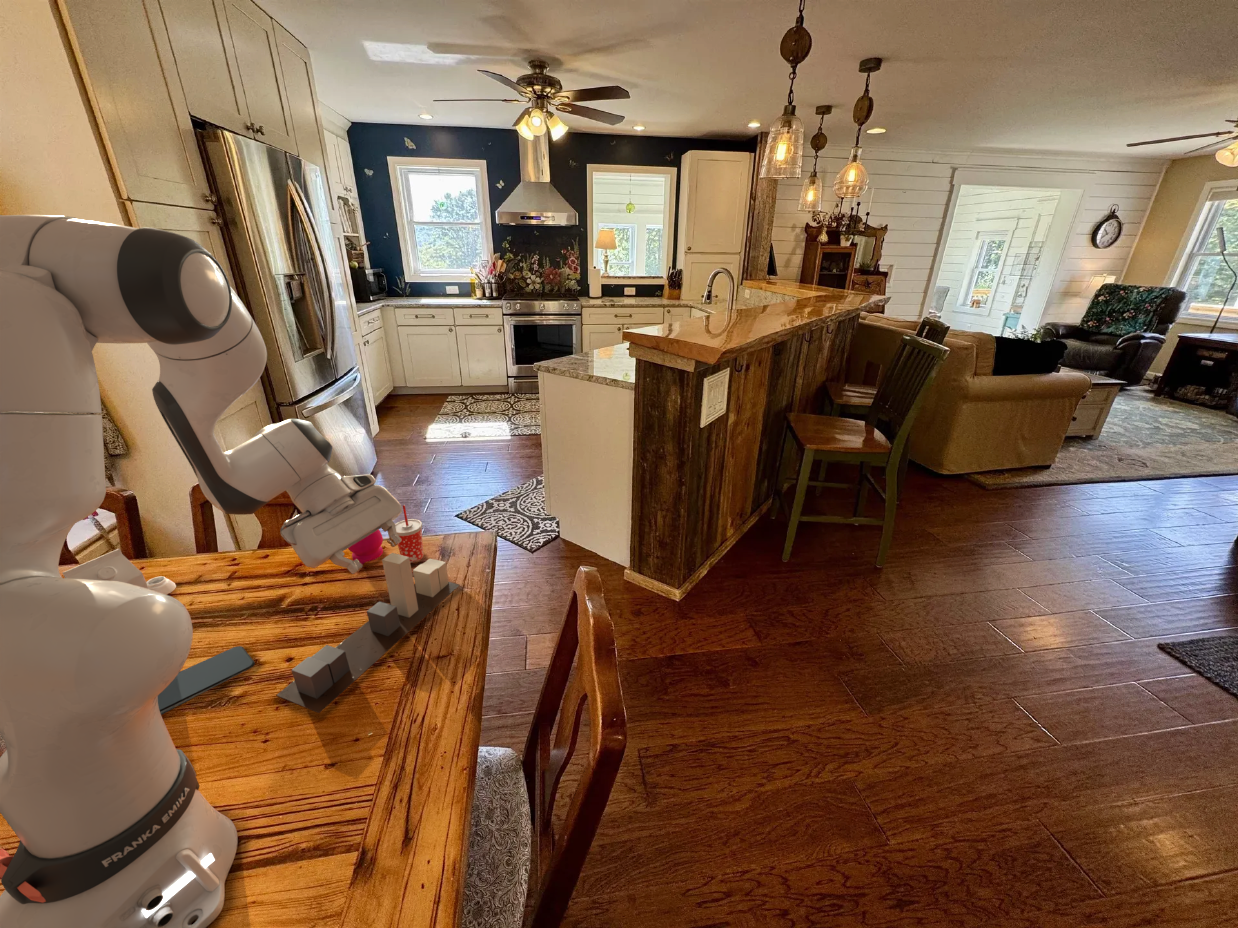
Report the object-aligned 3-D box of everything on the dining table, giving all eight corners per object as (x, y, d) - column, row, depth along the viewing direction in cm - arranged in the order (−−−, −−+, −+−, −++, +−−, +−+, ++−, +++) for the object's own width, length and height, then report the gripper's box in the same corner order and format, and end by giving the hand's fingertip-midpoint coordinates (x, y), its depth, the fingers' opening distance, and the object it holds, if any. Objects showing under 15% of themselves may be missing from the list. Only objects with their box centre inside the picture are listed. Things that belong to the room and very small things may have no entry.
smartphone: (256, 663, 81) (134, 722, 70) (259, 671, 82) (138, 731, 71) (240, 642, 86) (122, 695, 74) (242, 650, 86) (126, 703, 75)
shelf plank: (320, 717, 73) (319, 712, 73) (277, 699, 76) (275, 695, 76) (460, 588, 102) (460, 584, 102) (425, 579, 105) (425, 575, 105)
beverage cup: (421, 568, 109) (411, 512, 103) (393, 567, 109) (383, 511, 104) (431, 552, 115) (423, 499, 109) (405, 552, 115) (395, 498, 109)
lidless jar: (137, 597, 98) (155, 602, 97) (132, 585, 97) (149, 590, 96) (165, 583, 103) (182, 587, 101) (161, 571, 101) (177, 576, 100)
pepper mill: (372, 568, 108) (354, 487, 101) (343, 564, 110) (324, 483, 102) (392, 551, 115) (377, 473, 107) (365, 547, 116) (348, 470, 108)
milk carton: (97, 663, 82) (48, 568, 75) (146, 634, 89) (105, 544, 81) (125, 673, 80) (77, 577, 73) (173, 644, 87) (133, 552, 79)
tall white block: (409, 617, 92) (399, 564, 88) (392, 612, 94) (381, 559, 89) (418, 609, 95) (409, 556, 90) (402, 604, 96) (391, 552, 91)
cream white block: (432, 597, 98) (429, 574, 96) (416, 592, 99) (412, 570, 97) (448, 583, 102) (445, 560, 100) (433, 578, 104) (429, 556, 102)
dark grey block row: (317, 698, 75) (310, 677, 74) (297, 691, 77) (291, 669, 75) (400, 625, 90) (396, 606, 89) (383, 620, 92) (379, 601, 90)
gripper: (280, 517, 80) (338, 580, 80) (377, 471, 98) (424, 523, 98) (268, 536, 83) (323, 596, 84) (364, 487, 101) (409, 538, 101)
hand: (378, 556), depth 91 cm, fingers open, 8 cm apart
